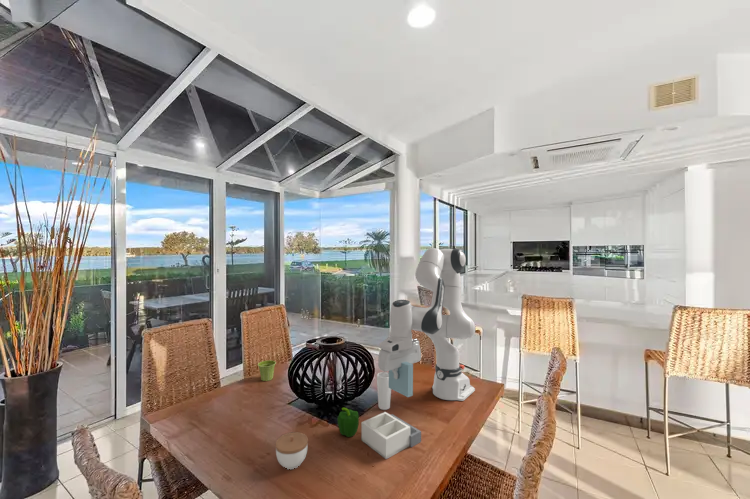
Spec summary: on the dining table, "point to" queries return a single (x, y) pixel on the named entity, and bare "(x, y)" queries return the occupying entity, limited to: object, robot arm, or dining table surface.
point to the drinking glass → (383, 390)
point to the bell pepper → (348, 422)
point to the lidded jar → (291, 449)
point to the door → (402, 380)
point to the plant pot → (266, 369)
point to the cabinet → (389, 434)
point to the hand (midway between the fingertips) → (400, 377)
